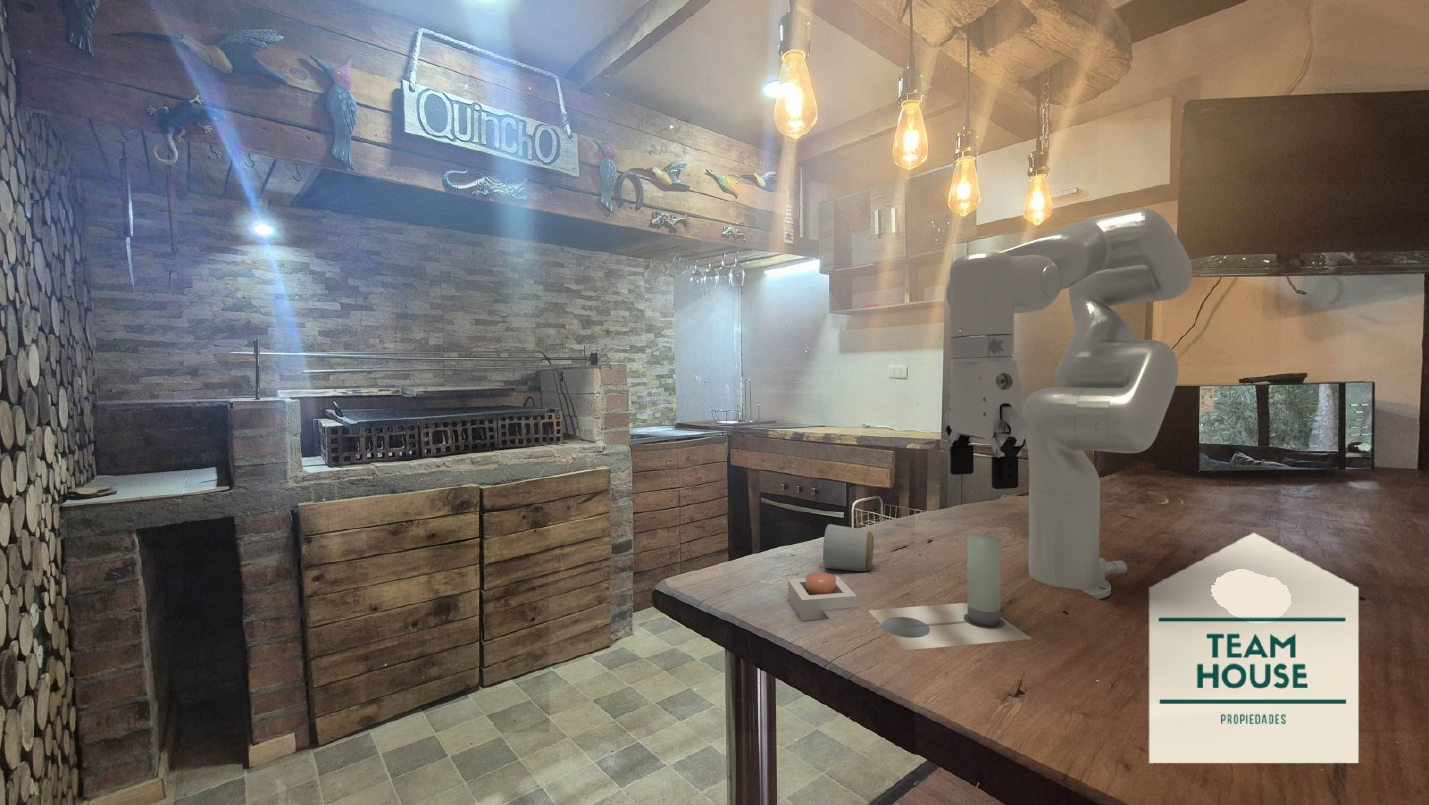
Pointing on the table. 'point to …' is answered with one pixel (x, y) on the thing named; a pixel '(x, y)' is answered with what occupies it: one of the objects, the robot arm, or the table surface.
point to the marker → (984, 580)
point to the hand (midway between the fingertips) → (982, 480)
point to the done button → (820, 583)
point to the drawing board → (941, 627)
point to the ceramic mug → (848, 548)
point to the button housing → (819, 599)
